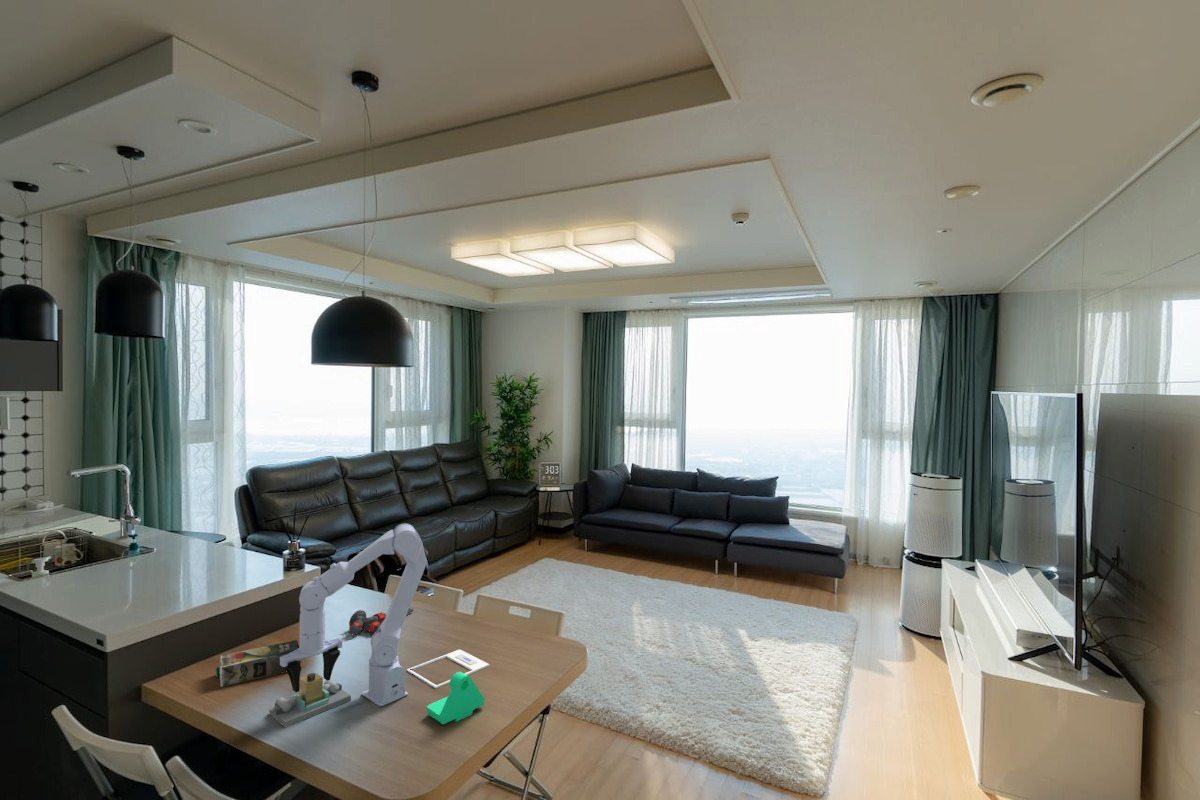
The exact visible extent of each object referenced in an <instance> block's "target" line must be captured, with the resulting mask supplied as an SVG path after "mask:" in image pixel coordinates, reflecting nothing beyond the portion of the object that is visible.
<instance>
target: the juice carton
mask: <svg viewBox="0 0 1200 800" xmlns="http://www.w3.org/2000/svg"><path fill="white" fill-rule="evenodd" d="M297 649H299V640H297V639H294V640H290V641H286V642H280V643H275V644H271V645H266V646H261V647H256V648H250V649H246V650H241V651H237V652H236V651H235V652H232V653H226V654H222V655H220V659H219V666H217V667H216V668H215V676H216V677H218V679H219V680H220V683H219V684H220V687H227V686H231V685H237V684H241V683H244V682H249V681H253V680H254V681H255V680H257V679H262V678H268V677H271V675H272V676H275V675H274V674H277V675H279V674H278V673H281V672H285V673H287V672H286V670H285V668H284V667H282V666H281V665H280V657H282V656H284V655H287V654H289V653H291V652H293V651H295V650H297ZM301 661H302V660H300V661H297V663H299V666H301V663H302V662H301ZM281 674H282V673H281Z"/></svg>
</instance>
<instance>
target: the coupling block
mask: <svg viewBox="0 0 1200 800" xmlns="http://www.w3.org/2000/svg"><path fill="white" fill-rule="evenodd" d="M323 680H324V676H323V677H322V676H321V675H320V674H318V673H317V672H310V673H307V675H304V676H302V677H300V689H299V692H298V696H299V697H300V698H301V699H302V700H304V701H305V707H306V706H308V705H311V704H313V703H316V702H318V701H321V700H322V691H323V685H324V682H323Z"/></svg>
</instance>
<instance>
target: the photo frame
mask: <svg viewBox="0 0 1200 800" xmlns="http://www.w3.org/2000/svg"><path fill="white" fill-rule="evenodd" d="M446 658H447V659H448V660H451V661H452V662H454V663H456V664H458V665H460V666H461V667H464V668H466V669H468V670H469V671H467V672H465V673H464V674H466V675H467V676H469V675H471V674H474V673H476V672H478V671H480V670H484V669H485V668H488V667H490V664H489V663H488V662H485V661H484V660H482V659H479V658H478V657H476V656H474V655H472V654H470V653H468V652H466V651H464V650H462V649H457V650H455V651H452V652H449V653H446V654H444V655H441V656H438V657H436V658H433V659H430V660H429V661H426V662H422V663H420V664H417V665H415V666H412V667H409V668H407V669H406V672H407V671H408V672H407V673H409V674H410V675H412V674H413V675H412V676H414V675H415V676H414V677H416V678H417V677H418V679H419V680H420V679H421V681H422V682H424V683H425V682H426V684H427V685H429V686H430V687H432V688H434V689H439V688H441V687H444V686H445V685H448V684H450V680H451V678H450V679H448V680H446V681H444V682H441V683H439V684H435V683H434V682H432V681H430V680H429V679H427V678H425V677H424V676H422V675H420V674H419V673H417V672H415V671H414V670H417V669H419V667H420V668H422V667H424V666H427V665H430V664H432V662H433V663H436V662H437V661H440V660H443V659H446ZM416 668H417V669H416ZM410 669H411V670H410Z"/></svg>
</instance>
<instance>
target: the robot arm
mask: <svg viewBox="0 0 1200 800" xmlns="http://www.w3.org/2000/svg"><path fill="white" fill-rule="evenodd" d="M395 551H396V552H397V554H399V555H400V556H402V558H403V559H404V560H405V563H406V565H405V568H404V570H403V572H402V575H401V576H400V577H401V578H400V579H399V582H398V585H397V588H396V590H395V593H394V595H393V598H392V599H391V603H390V605H389V608H388V609H387V612H386V617H385V620H384V621H383V622H382V623H381V626H380V628H379V629H378V631H377V632H375V633H374V635H371V639H370V647H371V656H370V658H369V660H368V689H367V690H365V691H362V693H361V695H362V696H363V697H365V698H366V699H368V700H369V701H371V702H373V703H374V704H375V705H377V706H378V707H383V706H385V705H387V704H390V703H392V702H394V701H397V700H399V699H402V698H404V697H405V696H408V694H409V693H408V692H407V690H406V671H405V668H404V667H402V666H401V665H400V661H399V653H398V652H399V651H398V644H399V640H400V638H401V632H402V628H403V625H404V623H405V620H406V617H407V616H408V615H407V614H408V613H407V612H408V610H409V607H410V606H411V605H412V602H413V599H414V597H415V595H416V592H417V589H418V587H419V584H420V581H421V579H422V577H423V575H424V571H425V569H426V567H427V557H426V554H425V548H424V544H423V541H422V539H421V536H420V534H419V532H418V531H417V530H416V529H415V527H414V526H413V524H412V525H411V524H410V523H401V524H398V525H396V526H395V528H394V529H390V530H389V531H388V530H387V532H386V533H384V534H383V535H382V536H380V537H379V538H377V539H376V540H374V542H372V543H371V544H369V545H368V546H367V547H366V548H365V549H363V550H362V551H359V553H357V555H355V556H354V557H353V558H351V559H350V560H348V561H339V562H337V563H336V562H333V563H332V564H330V565H329V568H328V570H326V571H325V572H323V573H322V574H321V575H319V576H314V577H313V578H312V580H310V581H308V582H306V583H305V584H304V585H303V586H302V588H301V590H300V593H299V597H298V600H299V605H300V608H299V609H300V610H299V611H300V613H299V640H298V645H299V649H297V650H295V651H293V652H291V653H289V654H287V655H284V656H282V657H280V665H281V666H282V667H284V668H285V670H286V671H287V672H286V673H287V675H288V677H289V680H290V683H291V687H292V689H291V690H292V691H293V692H295V693H299V689H300V678H301V677H300V676H301V673H302V672H301V671H302V668H303V667H302V666H301V665H300V666H299V663H297V661H300V660H301V661H302V660H305V659H308V658H311V657H315V656H318V655H320V654H322V661H323V662H322V663H323V674H322V675H323V680H324V679H325V681H326V680H327V681H328V680H331V677H332V674H333V670H334V667H335V664H336V662H337V660H338V659H339V657H340V655H341V651H340V649H341V648H343V639H341V638H340V637H338V638H334V639H329V640H326V639H325V638H326V610H325V601H326V598H328V597H331V596H332V595H334V594H335V593H336V592H338V591H339V590H341V589H342V588H344V586H346V585H347V584H349V583H350V582H352V581H353V580H354V577H355V573H356V572H358V571H360V570H361V569H362V568H364V567H365V566H367V565H368V564H370V563H371V562H374V561H375V560H376V559H377V558H379V557H381V556H382V555H395ZM410 608H411V607H410Z"/></svg>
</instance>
